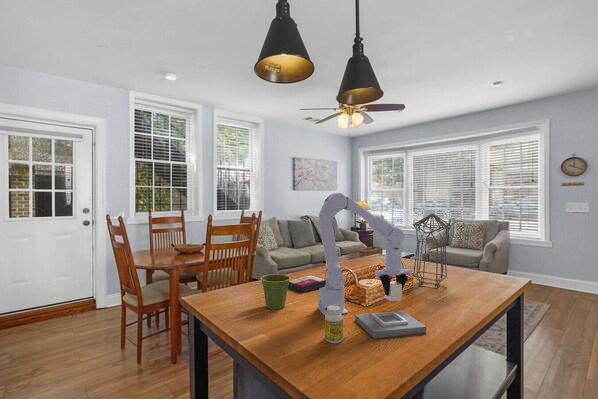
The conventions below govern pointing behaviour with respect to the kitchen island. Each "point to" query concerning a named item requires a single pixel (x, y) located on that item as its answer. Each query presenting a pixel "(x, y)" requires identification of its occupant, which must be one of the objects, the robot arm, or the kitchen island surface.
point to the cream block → (395, 292)
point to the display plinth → (389, 324)
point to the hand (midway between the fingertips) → (393, 294)
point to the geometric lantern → (431, 242)
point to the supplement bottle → (333, 324)
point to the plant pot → (275, 290)
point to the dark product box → (306, 284)
